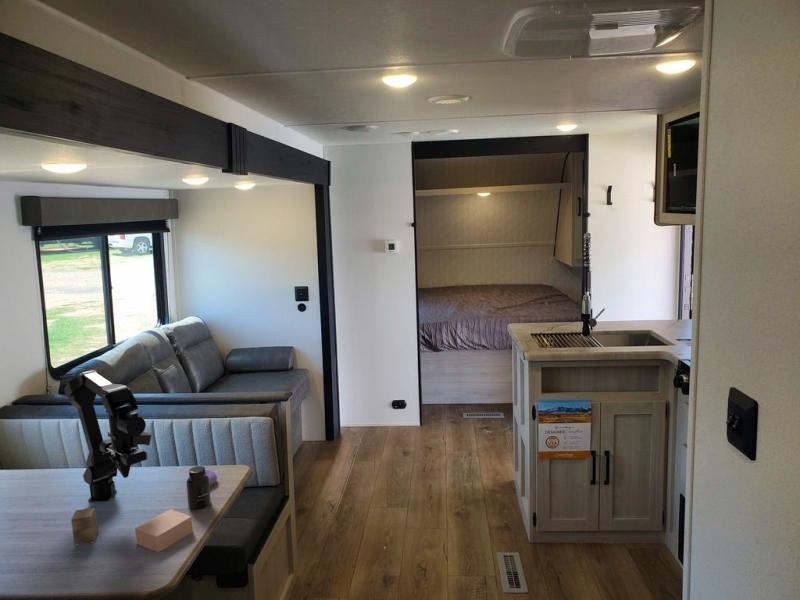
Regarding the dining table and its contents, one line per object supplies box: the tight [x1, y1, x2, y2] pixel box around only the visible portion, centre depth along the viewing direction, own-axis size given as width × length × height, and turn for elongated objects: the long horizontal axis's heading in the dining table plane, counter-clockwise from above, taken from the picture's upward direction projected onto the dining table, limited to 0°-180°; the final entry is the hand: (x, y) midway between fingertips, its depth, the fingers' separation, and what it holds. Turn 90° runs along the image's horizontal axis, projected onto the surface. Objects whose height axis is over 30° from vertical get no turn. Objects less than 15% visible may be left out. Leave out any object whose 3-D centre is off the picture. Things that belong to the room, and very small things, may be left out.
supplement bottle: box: [185, 465, 212, 511], centre depth 193 cm, size 7×7×12 cm
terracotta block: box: [134, 508, 194, 553], centre depth 176 cm, size 5×12×9 cm
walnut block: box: [71, 507, 99, 546], centre depth 176 cm, size 5×5×8 cm
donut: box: [205, 469, 218, 488], centre depth 208 cm, size 10×9×5 cm
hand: (125, 477), depth 188 cm, fingers closed
